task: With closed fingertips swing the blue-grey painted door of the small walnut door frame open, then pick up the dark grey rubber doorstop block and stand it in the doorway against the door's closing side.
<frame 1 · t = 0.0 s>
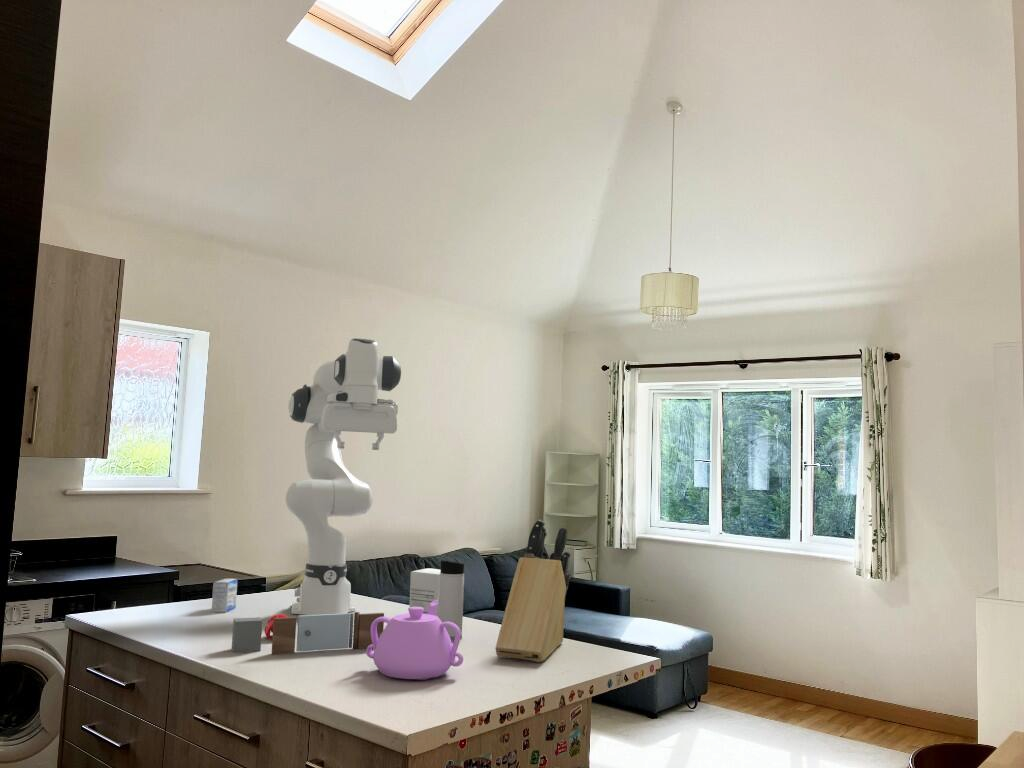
hand: (358, 449, 213), 48 cm above the kitchen island, tool pointing down, fingers open, 8 cm apart
supplement box: (429, 625, 223), on the kitchen island
medicine box: (223, 611, 235), on the kitchen island
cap: (277, 638, 201), on the kitchen island
knife block: (535, 648, 199), on the kitchen island
door: (326, 632, 189), point 4 cm above the kitchen island, hinge at 0.0°
doorstop block: (245, 650, 187), on the kitchen island
travel mug: (449, 639, 206), on the kitchen island
teapot: (416, 671, 173), on the kitchen island
door frame: (324, 650, 189), on the kitchen island
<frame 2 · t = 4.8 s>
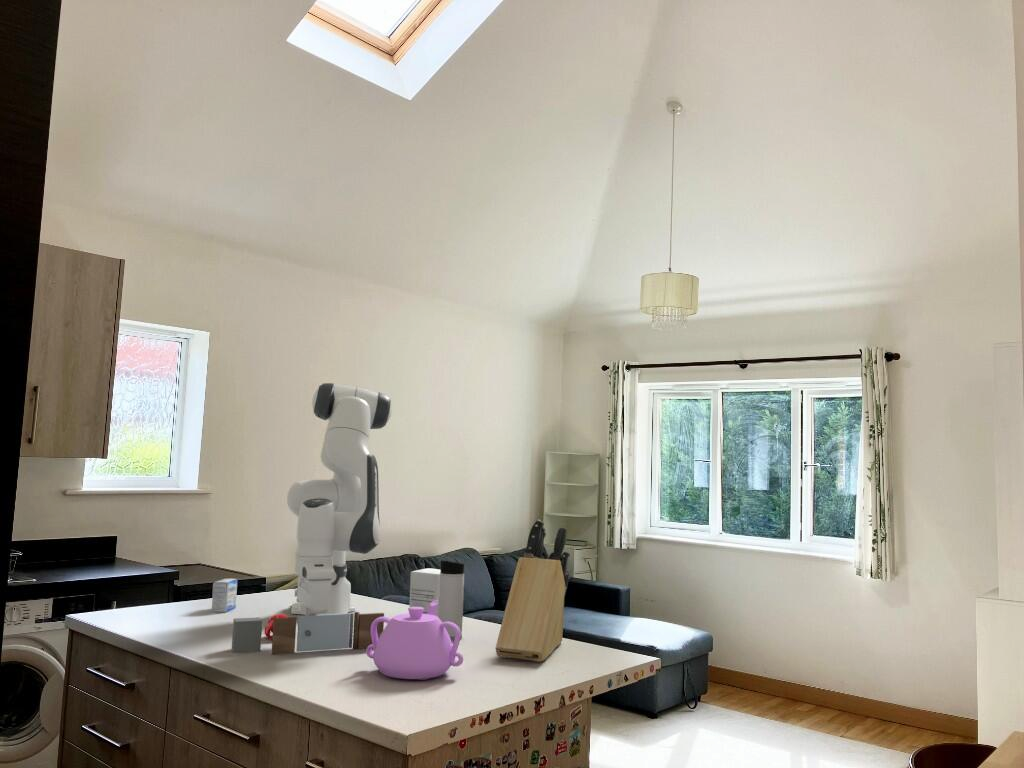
hand: (310, 626, 190), 5 cm above the kitchen island, tool pointing down, fingers closed
door: (326, 632, 188), point 4 cm above the kitchen island, hinge at 0.9°, touching gripper
everything else where it was.
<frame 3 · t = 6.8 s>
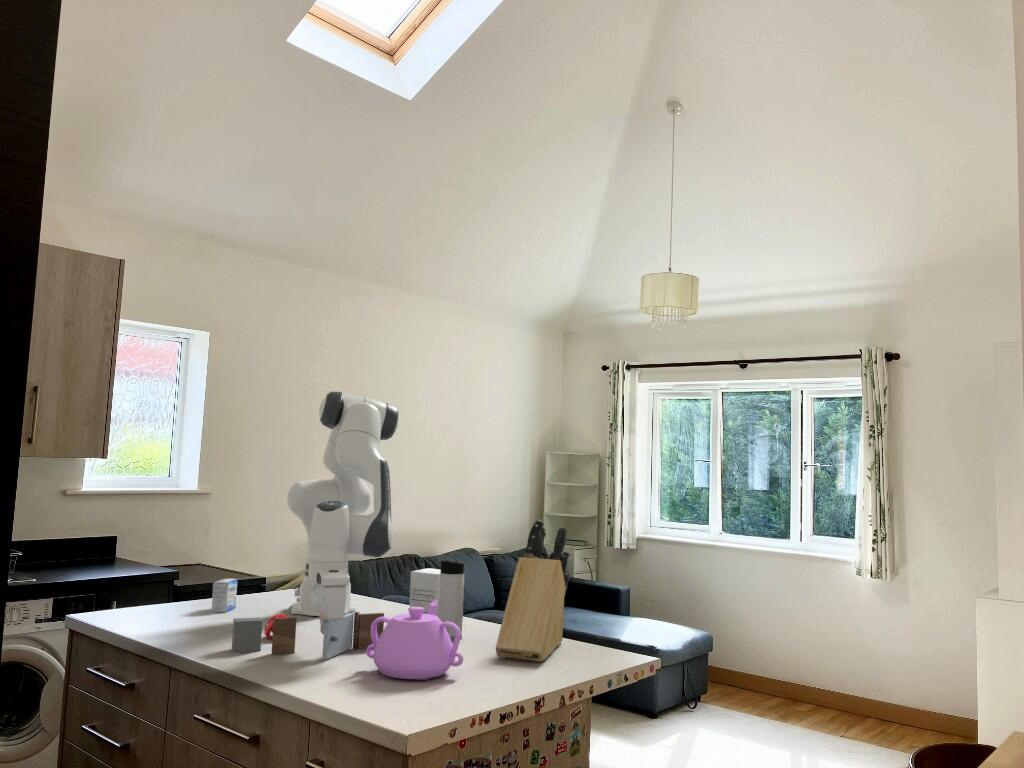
hand: (324, 633, 184), 5 cm above the kitchen island, tool pointing down, fingers closed
door: (341, 635, 186), point 4 cm above the kitchen island, hinge at 49.4°, touching gripper
everything else where it was.
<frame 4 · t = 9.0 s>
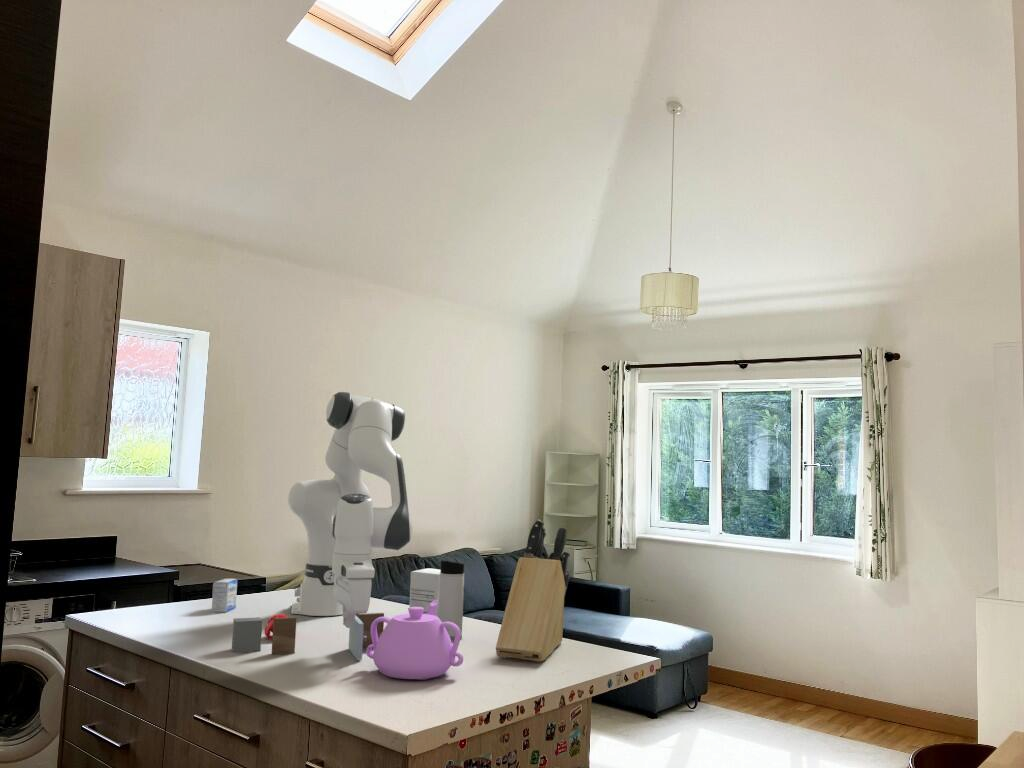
hand: (348, 626, 183), 7 cm above the kitchen island, tool pointing down, fingers closed
door: (358, 635, 186), point 4 cm above the kitchen island, hinge at 85.7°
everything else where it was.
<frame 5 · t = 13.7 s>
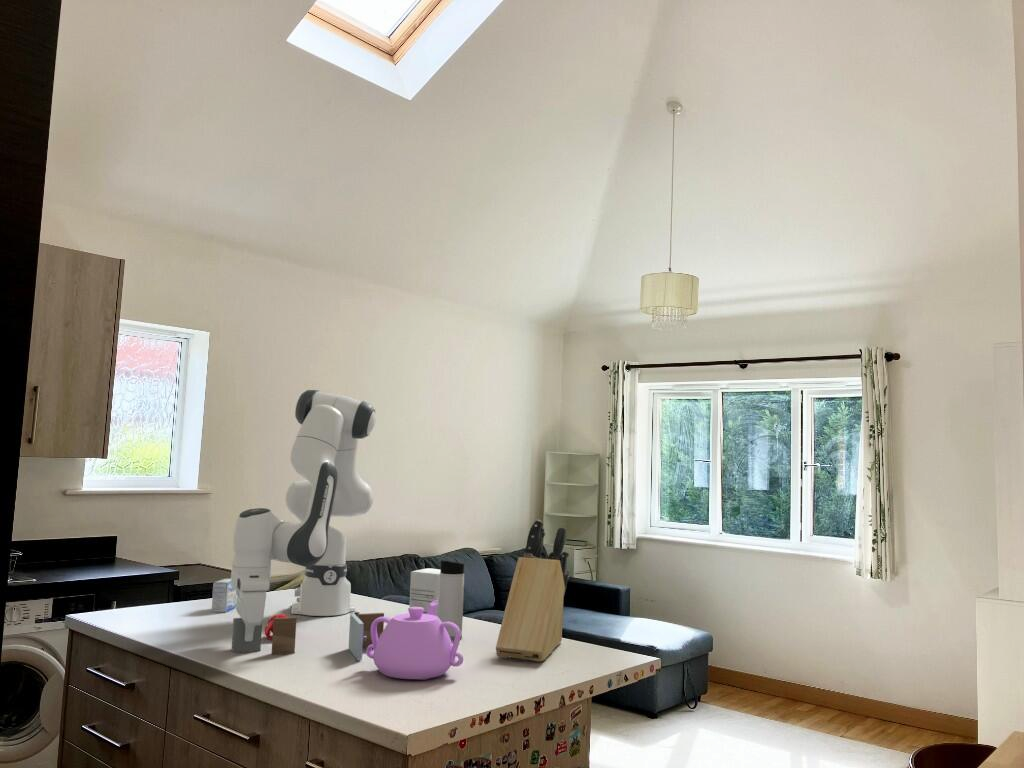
hand: (246, 638, 187), 3 cm above the kitchen island, tool pointing down, fingers closed on doorstop block, 4 cm apart
doorstop block: (245, 649, 187), on the kitchen island, touching gripper
everything else where it was.
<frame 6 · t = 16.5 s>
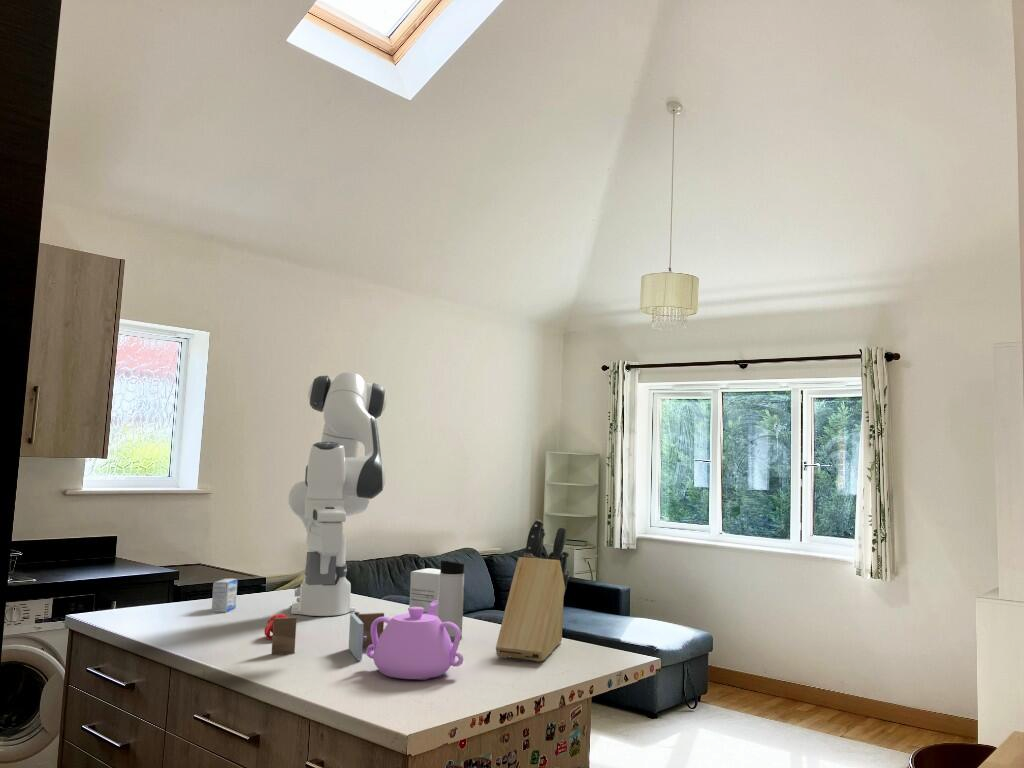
hand: (320, 572, 184), 19 cm above the kitchen island, tool pointing down, fingers closed on doorstop block, 4 cm apart
doorstop block: (320, 583, 184), point 16 cm above the kitchen island, touching gripper
everything else where it was.
when the fingers open (4 cm above the kitchen island, at t = 19.7 s): doorstop block drops 1 cm, on the kitchen island.
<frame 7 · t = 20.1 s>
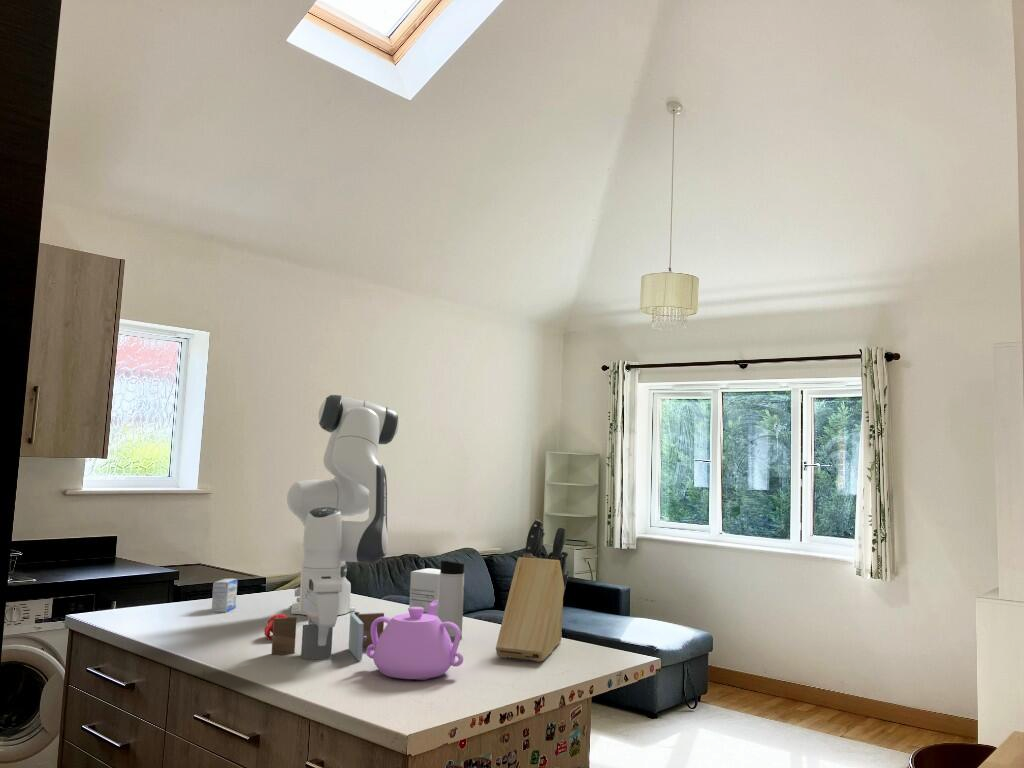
hand: (317, 640, 183), 4 cm above the kitchen island, tool pointing down, fingers open, 8 cm apart
doorstop block: (316, 657, 182), on the kitchen island
everything else where it was.
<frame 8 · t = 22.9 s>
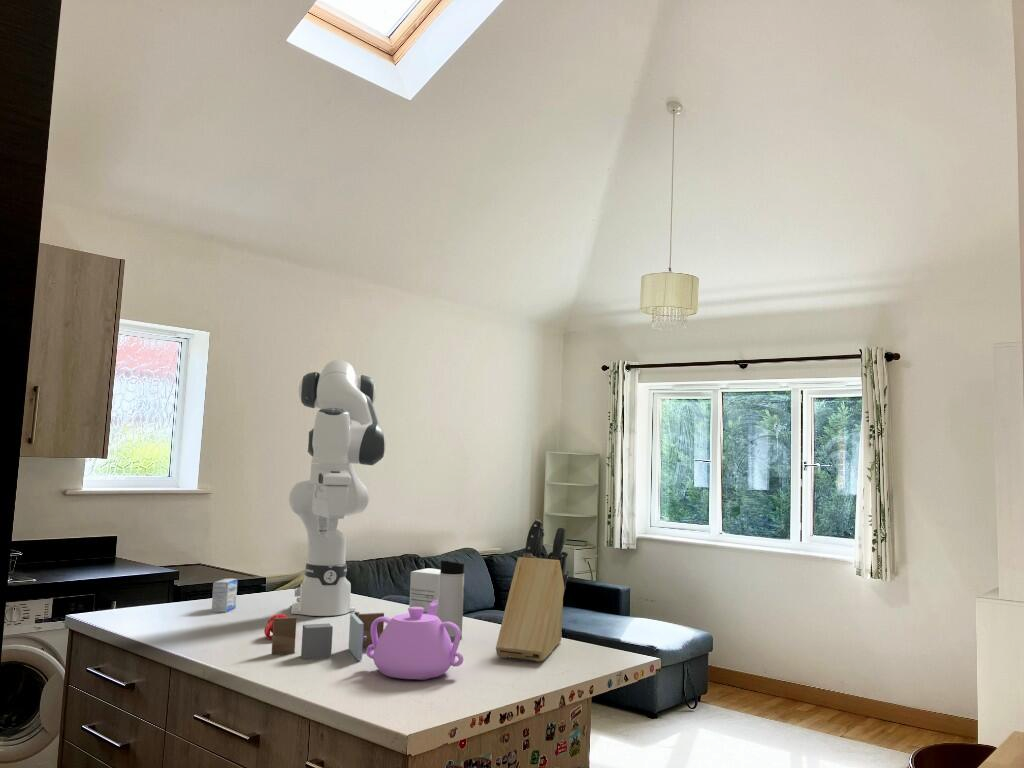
hand: (326, 536, 187), 27 cm above the kitchen island, tool pointing down, fingers open, 8 cm apart
nothing on the kitchen island moved.
at the end: door at +86° (first picture: +0°); doorstop block inside the target area (0.5 cm from its centre), on the kitchen island; doorstop block tilted 0° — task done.
